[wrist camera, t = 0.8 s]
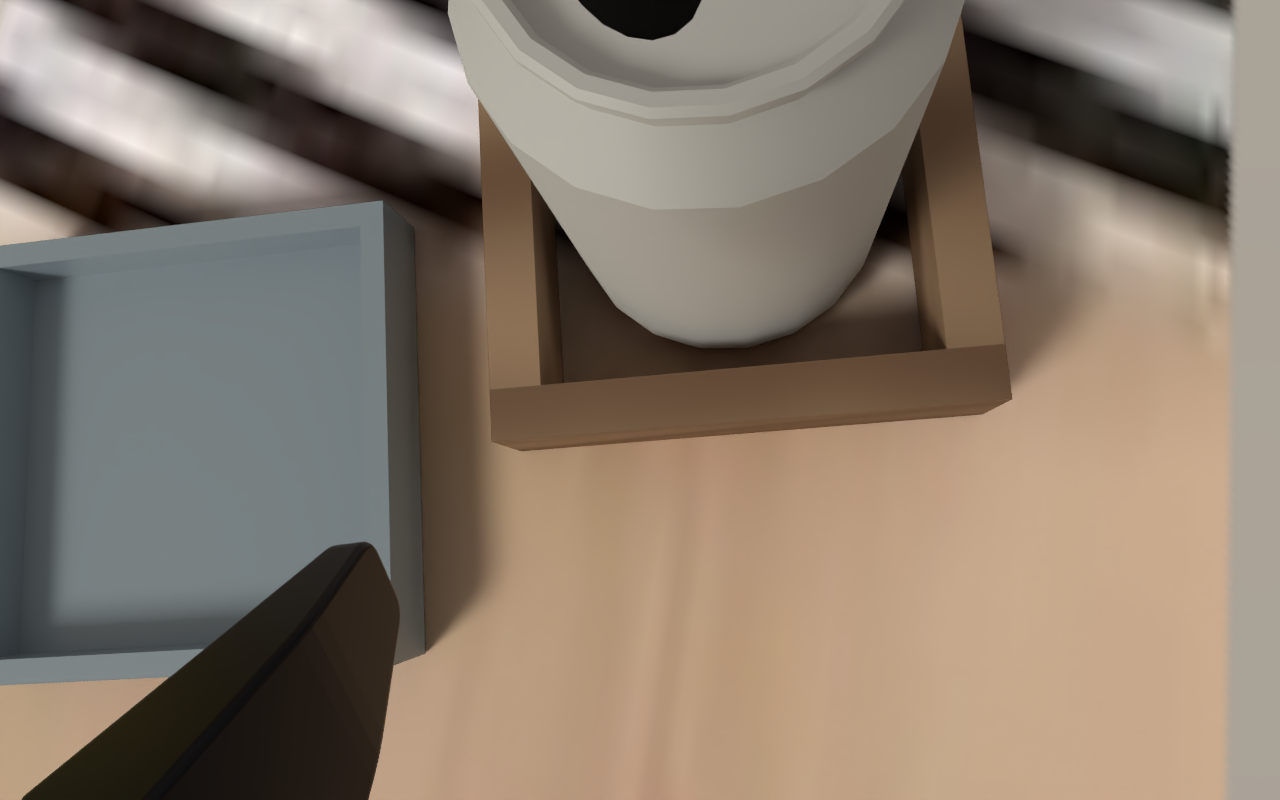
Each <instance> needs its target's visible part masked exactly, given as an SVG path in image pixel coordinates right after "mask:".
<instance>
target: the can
mask: <svg viewBox="0 0 1280 800" xmlns="http://www.w3.org/2000/svg"><path fill="white" fill-rule="evenodd" d="M964 2H965V0H449V4H448V15H449V18H450V22H451V25H452V29H453V32H454V36H455V39H456V43H457V46H458V50H459V53H460V57H461V60H462V64H463V68H464V71H465V75H466V78H467V82H468V84H469V85H470V87H471V88H472V90H473V91H474V93H475V95H476V96H477V98H478V99H479V101H480V102H481V104H482V105H483V107H484V108H485V110H486V111H487V113H488V114H489V116H490V118H491V119H492V121H493V122H494V124H495V125H496V127H497V128H498V130H499V131H500V133H501V134H502V136H503V137H504V139H505V141H506V142H507V144H508V145H509V147H510V148H511V150H512V151H513V153H514V154H515V156H516V157H517V159H518V160H519V162H520V164H521V165H522V167H523V168H524V170H525V171H526V173H527V174H528V176H529V177H530V179H531V180H532V182H533V183H534V185H535V187H536V188H537V190H538V191H539V193H540V194H541V196H542V197H543V199H544V200H545V202H546V203H547V205H548V206H549V208H550V210H551V211H552V213H553V214H554V216H555V217H556V219H557V220H558V222H559V223H560V225H561V226H562V228H563V229H564V231H565V233H566V234H567V236H568V237H569V239H570V240H571V242H572V243H573V245H574V246H575V248H576V249H577V251H578V252H579V254H580V256H581V257H582V259H583V260H584V262H585V263H586V265H587V266H588V268H589V269H590V271H591V272H592V274H593V275H594V276H595V278H596V279H597V281H598V282H599V283H600V285H601V286H602V288H603V289H604V290H605V292H606V293H607V295H608V296H609V297H610V299H611V300H612V302H613V303H614V304H615V306H616V307H617V308H618V309H620V310H621V311H622V312H624V313H625V314H627V315H628V316H629V317H631V318H632V319H634V320H635V321H636V322H638V323H639V324H640V325H642V326H643V327H645V328H646V329H647V330H649V331H650V332H652V333H653V334H655V335H658V336H661V337H664V338H668V339H671V340H674V341H677V342H680V343H684V344H687V345H690V346H693V347H696V348H750V347H753V346H756V345H759V344H762V343H765V342H768V341H771V340H775V339H778V338H781V337H784V336H787V335H790V334H793V333H795V332H797V331H798V330H799V329H801V328H802V327H804V326H805V325H807V324H808V323H809V322H811V321H812V320H814V319H815V318H816V317H818V316H819V315H821V314H822V313H823V312H825V311H826V310H828V309H829V308H830V307H832V306H833V305H835V303H836V302H837V301H838V299H839V298H840V297H841V295H842V294H843V293H844V291H845V290H846V288H847V287H848V286H849V284H850V283H851V282H852V280H853V279H854V278H855V276H856V275H857V274H858V272H859V271H860V270H861V268H862V267H863V265H864V263H865V260H866V258H867V255H868V253H869V250H870V248H871V245H872V243H873V240H874V238H875V235H876V233H877V230H878V228H879V225H880V223H881V220H882V218H883V215H884V213H885V210H886V208H887V205H888V203H889V200H890V198H891V195H892V193H893V190H894V188H895V185H896V183H897V180H898V178H899V175H900V173H901V170H902V168H903V165H904V163H905V160H906V158H907V155H908V153H909V150H910V148H911V145H912V143H913V140H914V138H915V135H916V133H917V130H918V128H919V125H920V123H921V120H922V118H923V115H924V113H925V110H926V108H927V105H928V103H929V100H930V98H931V95H932V93H933V90H934V88H935V85H936V83H937V80H938V78H939V75H940V73H941V70H942V68H943V65H944V63H945V60H946V57H947V54H948V51H949V48H950V45H951V42H952V39H953V36H954V33H955V30H956V27H957V24H958V20H959V17H960V14H961V11H962V8H963V5H964Z"/></svg>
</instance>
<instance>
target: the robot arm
mask: <svg viewBox="0 0 1280 800" xmlns="http://www.w3.org/2000/svg"><path fill="white" fill-rule="evenodd" d="M399 625H400V606H399V602H398V598H397V595H396V593H395V591H394V588H393V586H392V584H391V582H390V579H389V577H388V575H387V572H386V570H385V568H384V565H383V563H382V561H381V558H380V556H379V554H378V552H377V550H376V549H375V547H374V546H373V545H372V544H370V543H368V542H356V543H348V544H340V545H334V546H331V547H329V548H328V549H326V550H325V551H324V552H322V553H321V554H320V555H319V556H318V557H316V558H315V559H314V560H313V561H311V562H310V563H309V564H308V565H307V566H305V567H304V568H303V569H302V570H300V571H299V572H298V573H297V574H295V575H294V576H293V577H292V578H291V579H289V580H288V581H287V582H286V583H284V584H283V585H282V586H281V587H280V588H278V589H277V590H276V591H275V592H273V593H272V594H271V595H270V596H269V597H267V598H266V599H265V600H264V601H262V602H261V603H260V604H259V605H257V606H256V607H255V608H254V609H253V610H251V611H250V612H249V613H248V614H246V615H245V616H244V617H243V618H242V619H240V620H239V621H238V622H237V623H235V624H234V625H233V626H232V627H231V628H229V629H228V630H227V631H226V632H224V633H223V634H222V635H221V636H219V637H218V638H217V639H216V640H215V641H213V642H212V643H211V644H210V645H208V646H207V647H206V648H205V649H204V650H202V651H201V652H200V653H199V654H197V655H196V656H195V657H194V658H193V659H191V660H190V661H189V662H188V663H186V664H185V665H184V666H183V667H181V668H180V669H179V670H178V671H177V672H175V673H174V674H173V675H172V676H170V677H169V678H168V679H167V680H166V681H164V682H163V683H162V684H161V685H159V686H158V687H157V688H156V689H155V690H153V691H152V692H151V693H150V694H148V695H147V696H146V697H145V698H143V699H142V700H141V701H140V702H139V703H137V704H136V705H135V706H134V707H132V708H131V709H130V710H129V711H128V712H126V713H125V714H124V715H123V716H121V717H120V718H119V719H118V720H117V721H115V722H114V723H113V724H112V725H110V726H109V727H108V728H107V729H105V730H104V731H103V732H102V733H101V734H99V735H98V736H97V737H96V738H94V739H93V740H92V741H91V742H90V743H88V744H87V745H86V746H85V747H83V748H82V749H81V750H80V751H79V752H77V753H76V754H75V755H74V756H72V757H71V758H70V759H69V760H67V761H66V762H65V763H64V764H63V765H61V766H60V767H59V768H58V769H56V770H55V771H54V772H53V773H52V774H50V775H49V776H48V777H47V778H45V779H44V780H43V781H42V782H41V783H39V784H38V785H37V786H36V787H34V788H33V789H32V790H31V791H29V792H28V793H27V794H26V795H25V796H24V797H23V798H22V800H368V799H369V795H370V791H371V788H372V784H373V780H374V776H375V772H376V767H377V763H378V759H379V754H380V749H381V743H382V738H383V732H384V725H385V719H386V712H387V705H388V699H389V692H390V685H391V679H392V672H393V665H394V658H395V652H396V645H397V638H398V632H399Z"/></svg>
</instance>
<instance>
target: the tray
mask: <svg viewBox="0 0 1280 800" xmlns="http://www.w3.org/2000/svg"><path fill="white" fill-rule="evenodd" d="M356 542H368V543H370V544H372V545H373V546H374V547H375V549H376V550H377V552H378V554H379V556H380V558H381V561H382V563H383V565H384V568H385V570H386V572H387V575H388V577H389V579H390V582H391V584H392V586H393V588H394V591H395V593H396V595H397V598H398V602H399V606H400V625H399V632H398V638H397V645H396V652H395V658H394V665H396V664H398V663H401V662H404V661H406V660H409V659H412V658H414V657H417V656H420V655H422V654H425V626H424V588H423V550H422V512H421V474H420V436H419V398H418V360H417V322H416V284H415V246H414V227H413V226H411V225H410V224H409V223H408V222H407V221H406V220H405V219H403V218H402V217H401V216H400V215H399V214H398V213H397V212H395V211H394V210H393V209H392V208H391V207H390V206H389V205H387V204H386V203H385V202H384V201H383V200H382V201H374V202H365V203H357V204H348V205H340V206H331V207H323V208H315V209H306V210H298V211H289V212H281V213H272V214H264V215H256V216H247V217H239V218H230V219H222V220H213V221H205V222H197V223H188V224H180V225H171V226H163V227H154V228H146V229H137V230H129V231H121V232H112V233H104V234H95V235H87V236H78V237H70V238H62V239H53V240H45V241H36V242H28V243H19V244H11V245H2V246H0V685H16V684H36V683H56V682H77V681H97V680H117V679H137V678H157V677H170V676H172V675H173V674H174V673H175V672H177V671H178V670H179V669H180V668H181V667H183V666H184V665H185V664H186V663H188V662H189V661H190V660H191V659H193V658H194V657H195V656H196V655H197V654H199V653H200V652H201V651H202V650H204V649H205V648H206V647H207V646H208V645H210V644H211V643H212V642H213V641H215V640H216V639H217V638H218V637H219V636H221V635H222V634H223V633H224V632H226V631H227V630H228V629H229V628H231V627H232V626H233V625H234V624H235V623H237V622H238V621H239V620H240V619H242V618H243V617H244V616H245V615H246V614H248V613H249V612H250V611H251V610H253V609H254V608H255V607H256V606H257V605H259V604H260V603H261V602H262V601H264V600H265V599H266V598H267V597H269V596H270V595H271V594H272V593H273V592H275V591H276V590H277V589H278V588H280V587H281V586H282V585H283V584H284V583H286V582H287V581H288V580H289V579H291V578H292V577H293V576H294V575H295V574H297V573H298V572H299V571H300V570H302V569H303V568H304V567H305V566H307V565H308V564H309V563H310V562H311V561H313V560H314V559H315V558H316V557H318V556H319V555H320V554H321V553H322V552H324V551H325V550H326V549H328V548H329V547H331V546H334V545H340V544H348V543H356Z"/></svg>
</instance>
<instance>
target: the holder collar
mask: <svg viewBox="0 0 1280 800" xmlns="http://www.w3.org/2000/svg"><path fill="white" fill-rule="evenodd" d="M478 105H479V130H480V156H481V181H482V207H483V232H484V258H485V283H486V309H487V334H488V360H489V385H490V411H491V436H492V442H495V443H498V444H501V445H504V446H507V447H510V448H513V449H516V450H519V451H529V450H541V449H554V448H566V447H579V446H591V445H604V444H616V443H629V442H641V441H654V440H666V439H679V438H691V437H704V436H716V435H729V434H741V433H754V432H766V431H779V430H791V429H804V428H816V427H829V426H841V425H854V424H866V423H879V422H891V421H904V420H916V419H929V418H942V417H954V416H967V415H979V414H984V413H986V412H988V411H990V410H992V409H994V408H996V407H998V406H1000V405H1002V404H1004V403H1005V402H1007V401H1009V400H1011V399H1012V393H1011V385H1010V378H1009V370H1008V363H1007V355H1006V348H1005V340H1004V333H1003V325H1002V318H1001V310H1000V303H999V295H998V288H997V280H996V273H995V265H994V258H993V251H992V243H991V236H990V228H989V221H988V213H987V206H986V198H985V191H984V183H983V176H982V168H981V161H980V153H979V146H978V138H977V131H976V123H975V116H974V108H973V101H972V94H971V86H970V79H969V71H968V64H967V56H966V49H965V41H964V34H963V26H962V19H961V14H960V17H959V20H958V24H957V27H956V30H955V33H954V36H953V39H952V42H951V45H950V48H949V51H948V54H947V57H946V60H945V63H944V65H943V68H942V70H941V73H940V75H939V78H938V80H937V83H936V85H935V88H934V90H933V93H932V95H931V98H930V100H929V103H928V105H927V108H926V110H925V113H924V115H923V118H922V120H921V123H920V125H919V128H918V130H917V133H916V135H915V138H914V140H913V143H912V145H911V148H910V150H909V153H908V155H907V158H906V160H905V163H904V165H903V168H902V177H903V186H904V194H905V203H906V211H907V219H908V228H909V236H910V245H911V253H912V262H913V270H914V278H915V287H916V295H917V304H918V312H919V321H920V329H921V337H922V346H923V351H918V352H907V353H895V354H884V355H873V356H862V357H851V358H839V359H828V360H817V361H806V362H795V363H783V364H772V365H761V366H750V367H738V368H727V369H716V370H705V371H694V372H682V373H671V374H660V375H649V376H638V377H626V378H615V379H604V380H593V381H582V382H570V383H563V364H562V345H561V326H560V307H559V288H558V269H557V250H556V231H555V216H554V214H553V213H552V211H551V210H550V208H549V206H548V205H547V203H546V202H545V200H544V199H543V197H542V196H541V194H540V193H539V191H538V190H537V188H536V187H535V185H534V183H533V182H532V180H531V179H530V177H529V176H528V174H527V173H526V171H525V170H524V168H523V167H522V165H521V164H520V162H519V160H518V159H517V157H516V156H515V154H514V153H513V151H512V150H511V148H510V147H509V145H508V144H507V142H506V141H505V139H504V137H503V136H502V134H501V133H500V131H499V130H498V128H497V127H496V125H495V124H494V122H493V121H492V119H491V118H490V116H489V114H488V113H487V111H486V110H485V108H484V107H483V105H482V104H481V102H480V101H479V99H478Z"/></svg>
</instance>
